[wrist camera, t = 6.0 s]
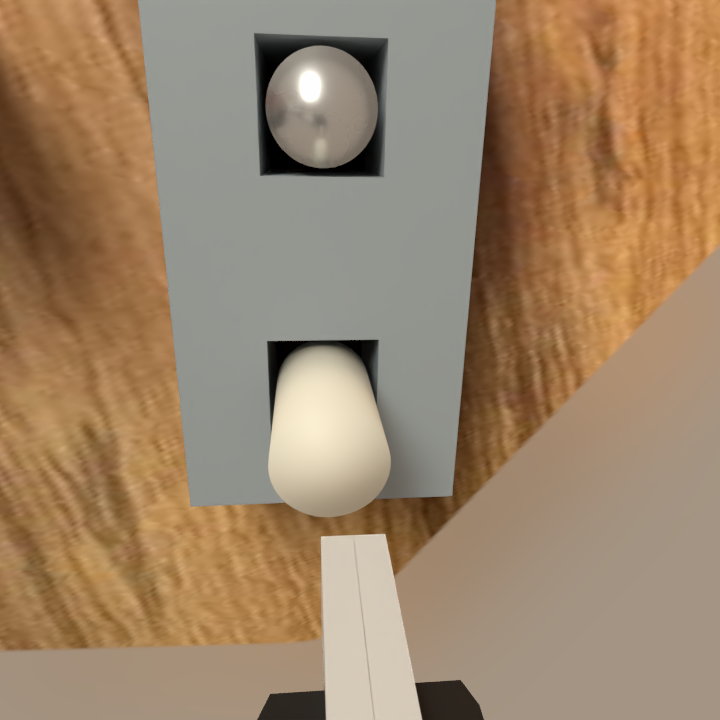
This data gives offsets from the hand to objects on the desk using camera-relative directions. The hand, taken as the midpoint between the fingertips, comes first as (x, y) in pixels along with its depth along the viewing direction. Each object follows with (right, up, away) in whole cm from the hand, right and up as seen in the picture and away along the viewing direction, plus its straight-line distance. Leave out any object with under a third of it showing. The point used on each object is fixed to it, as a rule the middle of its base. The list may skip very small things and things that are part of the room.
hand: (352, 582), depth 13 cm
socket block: (-2, +12, +15) cm, 19 cm away
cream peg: (-1, +4, +11) cm, 12 cm away
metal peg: (-2, +17, +13) cm, 21 cm away
